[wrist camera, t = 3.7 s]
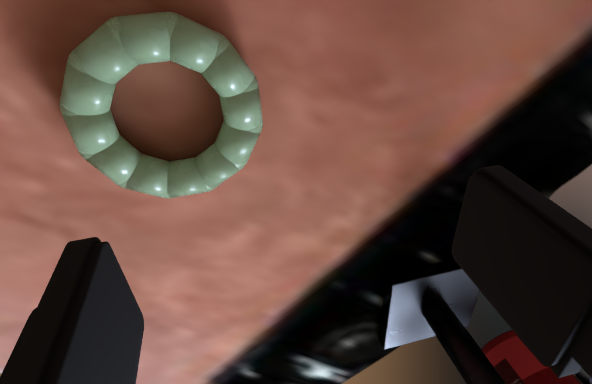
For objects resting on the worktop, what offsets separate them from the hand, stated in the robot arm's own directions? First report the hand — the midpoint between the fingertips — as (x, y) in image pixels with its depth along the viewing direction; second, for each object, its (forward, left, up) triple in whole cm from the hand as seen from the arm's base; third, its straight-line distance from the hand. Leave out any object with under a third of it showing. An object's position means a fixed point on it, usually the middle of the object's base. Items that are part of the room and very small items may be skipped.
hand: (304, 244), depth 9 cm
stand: (+14, -21, -12) cm, 28 cm away
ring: (-4, 0, -11) cm, 12 cm away
